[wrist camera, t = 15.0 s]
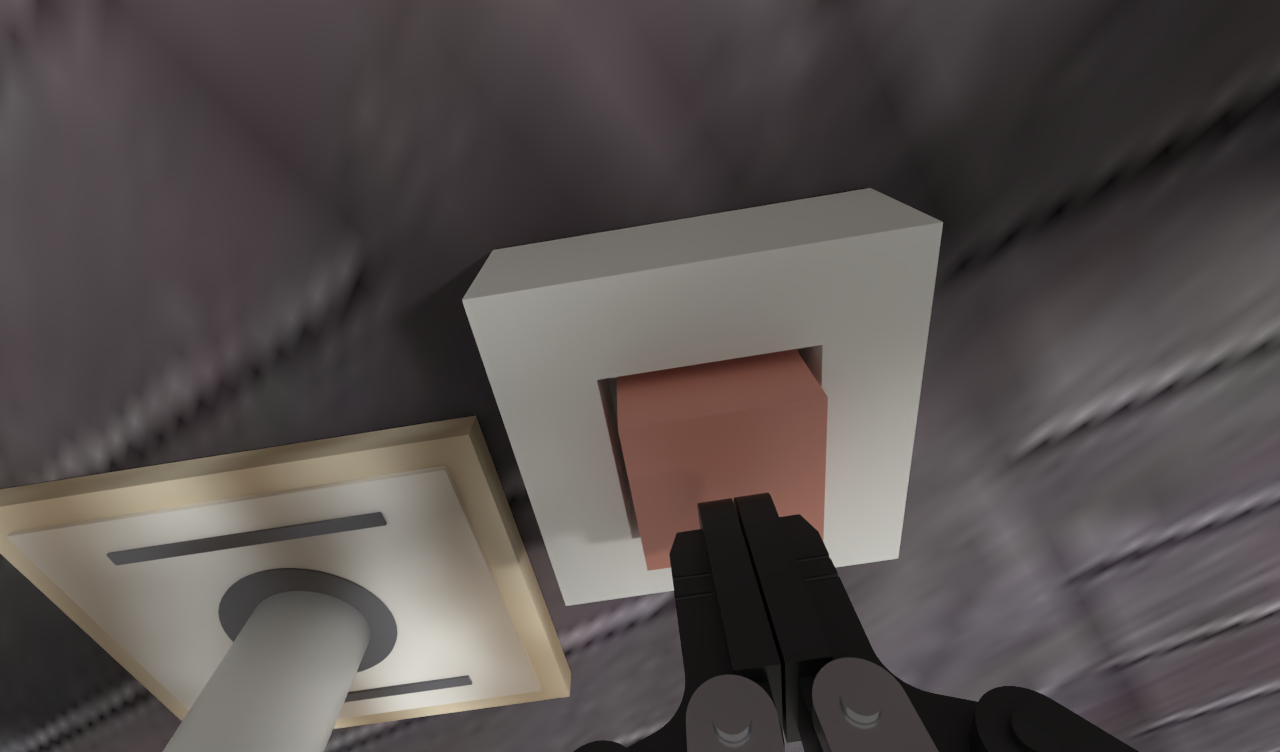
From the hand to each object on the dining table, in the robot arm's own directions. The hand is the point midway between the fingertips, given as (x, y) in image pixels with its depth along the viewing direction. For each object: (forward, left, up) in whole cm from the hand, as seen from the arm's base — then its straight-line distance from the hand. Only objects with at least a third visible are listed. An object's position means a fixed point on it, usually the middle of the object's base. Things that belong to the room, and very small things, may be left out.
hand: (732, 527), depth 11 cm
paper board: (+15, +7, -6) cm, 17 cm away
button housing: (0, 0, -6) cm, 6 cm away
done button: (0, 0, -4) cm, 4 cm away
